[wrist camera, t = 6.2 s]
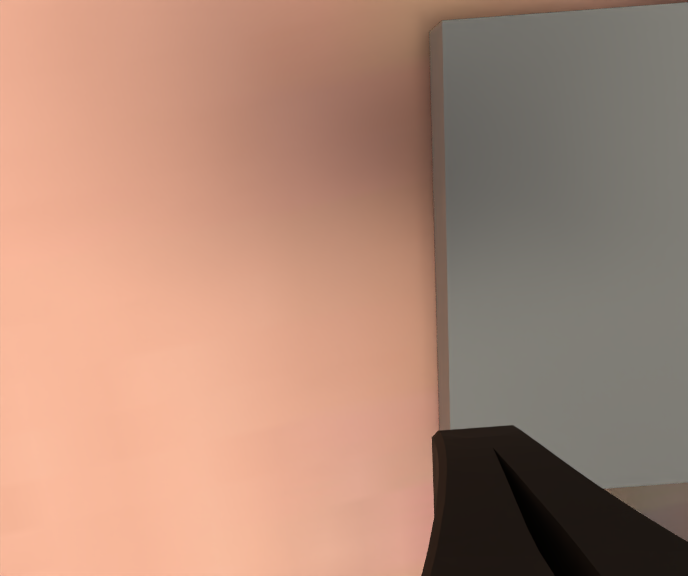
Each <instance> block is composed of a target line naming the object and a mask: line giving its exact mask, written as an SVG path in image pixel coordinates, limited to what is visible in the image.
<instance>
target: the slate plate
mask: <svg viewBox="0 0 688 576" xmlns="http://www.w3.org/2000/svg"><path fill="white" fill-rule="evenodd" d="M429 49H430V88H431V126H432V165H433V203H434V241H435V280H436V318H437V357H438V395H439V430H452V429H466V428H479V427H493V426H507V425H514V426H515V427H517V428H518V429H520V430H521V431H523V432H524V433H526V434H527V435H529V436H530V437H531V438H533V439H534V440H535V441H537V442H538V443H540V444H541V445H542V446H544V447H545V448H546V449H548V450H549V451H550V452H552V453H553V454H555V455H556V456H557V457H559V458H560V459H561V460H563V461H564V462H566V463H567V464H568V465H570V466H571V467H573V468H574V469H575V470H577V471H578V472H580V473H581V474H582V475H584V476H585V477H587V478H588V479H590V480H591V481H592V482H594V483H595V484H597V485H598V486H600V487H601V488H603V489H606V488H620V487H633V486H647V485H661V484H674V483H688V2H685V3H672V4H658V5H645V6H631V7H618V8H604V9H591V10H577V11H564V12H550V13H536V14H523V15H509V16H496V17H482V18H469V19H455V20H442V21H441V22H440V23H439V24H438V25H437V26H435V27H434V28H433V29H432V30H431V31H430V32H429Z"/></svg>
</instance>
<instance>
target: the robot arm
mask: <svg viewBox="0 0 688 576" xmlns="http://www.w3.org/2000/svg"><path fill="white" fill-rule="evenodd" d="M432 454H433V487H434V522H433V527H432V532H431V537H430V542H429V547H428V552H427V556H426V560H425V564H424V568H423V572H422V575H421V576H688V542H687V541H685V540H683V539H682V538H680V537H678V536H677V535H675V534H673V533H672V532H670V531H668V530H667V529H665V528H664V527H662V526H660V525H659V524H657V523H655V522H654V521H652V520H651V519H649V518H647V517H646V516H644V515H642V514H641V513H639V512H638V511H636V510H634V509H633V508H631V507H630V506H628V505H627V504H625V503H624V502H622V501H621V500H619V499H618V498H616V497H614V496H613V495H611V494H610V493H609V492H607V491H606V490H604V489H603V488H601V487H600V486H598V485H597V484H595V483H594V482H592V481H591V480H590V479H588V478H587V477H585V476H584V475H582V474H581V473H580V472H578V471H577V470H575V469H574V468H573V467H571V466H570V465H568V464H567V463H566V462H564V461H563V460H561V459H560V458H559V457H557V456H556V455H555V454H553V453H552V452H550V451H549V450H548V449H546V448H545V447H544V446H542V445H541V444H540V443H538V442H537V441H535V440H534V439H533V438H531V437H530V436H529V435H527V434H526V433H524V432H523V431H521V430H520V429H518V428H517V427H515V426H514V425H507V426H493V427H479V428H466V429H452V430H439V431H438V432H437V433H436V434H435V435H434V436H433V437H432Z"/></svg>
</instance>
